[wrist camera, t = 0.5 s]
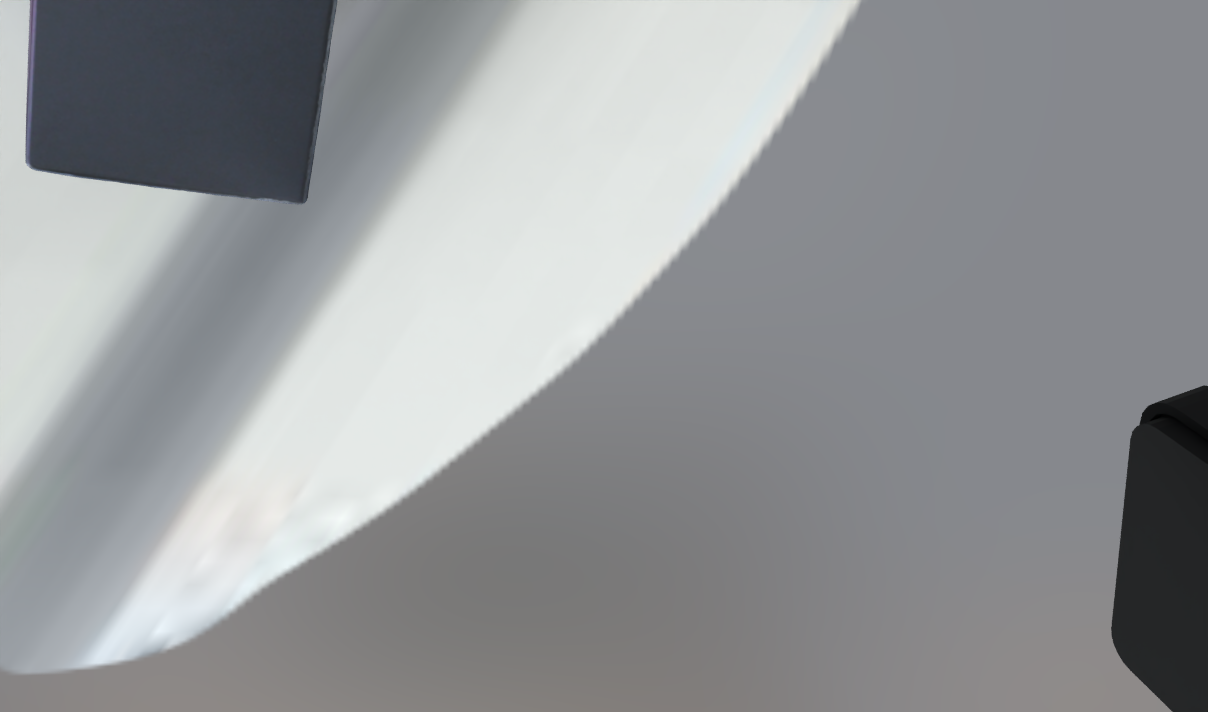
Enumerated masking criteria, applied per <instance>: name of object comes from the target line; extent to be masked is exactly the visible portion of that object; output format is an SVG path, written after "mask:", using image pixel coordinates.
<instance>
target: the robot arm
mask: <svg viewBox="0 0 1208 712" xmlns="http://www.w3.org/2000/svg"><path fill="white" fill-rule="evenodd" d="M1129 450H1130V451H1129V460H1128V469H1127V479H1126V489H1125V499H1124V509H1123V519H1122V529H1121V539H1120V549H1119V558H1118V568H1117V578H1116V588H1115V598H1114V609H1113V617H1112V627H1111V630H1112V639H1113V643H1114V646H1115V648H1116V650H1117V652H1118V654H1119V656H1120V658H1121V659H1122V661H1123V662H1124V663H1125V665H1126V666H1127V667H1128V668H1129V669H1130V670H1131V671H1132V672H1133V673H1134V674H1135V675H1136V676H1137V677H1138V678H1139V679H1140V680H1141V681H1142V682H1143V683H1144V684H1145V685H1146V686H1147V687H1148V688H1149V689H1150V690H1151V691H1152V692H1153V693H1154V694H1155V695H1156V696H1157V697H1158V698H1159V699H1160V700H1161V701H1162V702H1163V703H1164V704H1165V705H1166V706H1167V707H1168V708H1169V709H1170V710H1171V711H1173V712H1208V386H1201V387H1199V388H1196V389H1193V390H1190V391H1187V392H1184V393H1182V394H1179V395H1176V396H1173V397H1171V398H1168V399H1165V400H1162V401H1159V402H1157V403H1154V404H1152V405H1149V406H1148V407H1147V408H1146V409H1145V411H1144V412H1143V413H1142V417H1141V421H1140V425H1139V426H1137V427H1136V428H1135V429H1134V431H1133V432H1132V436H1131V439H1130V449H1129Z"/></svg>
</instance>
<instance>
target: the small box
mask: <svg viewBox="0 0 1208 712" xmlns="http://www.w3.org/2000/svg"><path fill="white" fill-rule="evenodd" d="M336 6H337V0H30V19H29V48H28V77H27V113H26V164H27V166H28V167H30V168H31V169H33V170H37V171H43V172H48V173H54V174H61V175H67V176H73V177H79V178H87V179H95V180H103V181H113V182H120V183H126V184H134V185H142V186H148V187H155V188H165V189H173V190H184V191H190V192H198V193H206V194H212V195H221V196H231V197H239V198H246V199H255V200H264V201H272V202H279V203H288V204H304V203H305V202H306V201H307V198H308V190H309V184H310V178H311V172H312V165H313V158H314V151H315V145H316V139H317V132H318V126H319V119H320V112H321V105H322V97H323V89H324V84H325V78H326V71H327V65H328V58H329V52H330V44H331V37H332V31H333V24H334V18H335V12H336Z"/></svg>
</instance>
